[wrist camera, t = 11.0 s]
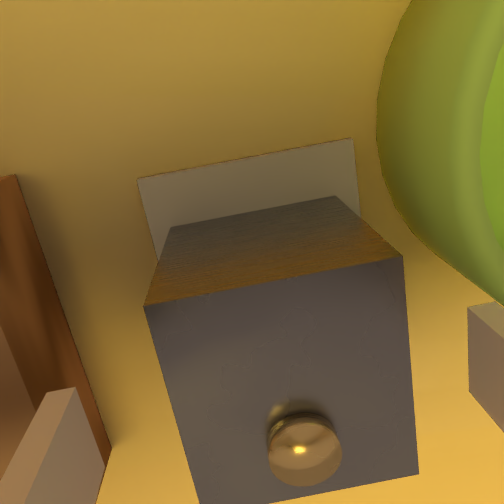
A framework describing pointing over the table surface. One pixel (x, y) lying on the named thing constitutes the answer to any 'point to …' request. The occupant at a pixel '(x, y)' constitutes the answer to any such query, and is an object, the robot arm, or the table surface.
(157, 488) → the table surface
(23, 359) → the plane body
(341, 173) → the mat
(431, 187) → the green round pieces
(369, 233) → the lever cap
